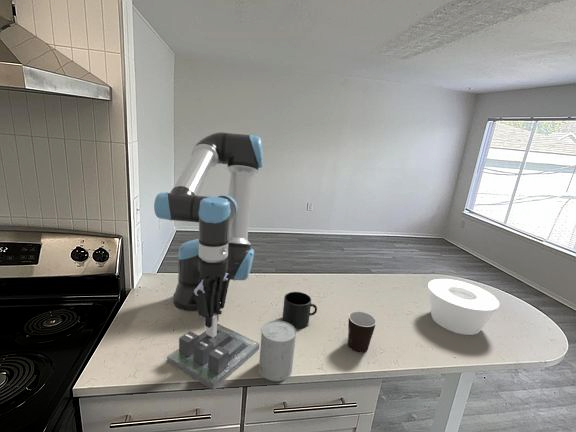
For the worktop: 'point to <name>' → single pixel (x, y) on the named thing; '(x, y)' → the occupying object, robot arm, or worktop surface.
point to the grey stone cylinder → (277, 350)
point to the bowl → (460, 305)
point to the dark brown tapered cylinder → (360, 331)
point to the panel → (225, 338)
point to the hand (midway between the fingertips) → (211, 334)
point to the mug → (297, 309)
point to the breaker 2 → (203, 350)
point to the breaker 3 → (218, 359)
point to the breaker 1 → (188, 343)
